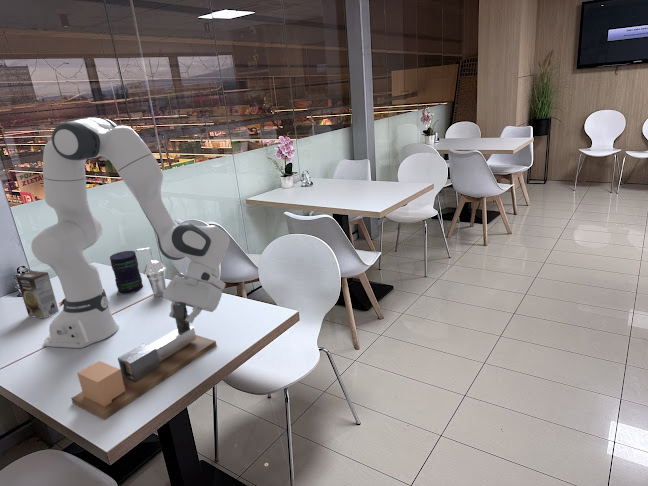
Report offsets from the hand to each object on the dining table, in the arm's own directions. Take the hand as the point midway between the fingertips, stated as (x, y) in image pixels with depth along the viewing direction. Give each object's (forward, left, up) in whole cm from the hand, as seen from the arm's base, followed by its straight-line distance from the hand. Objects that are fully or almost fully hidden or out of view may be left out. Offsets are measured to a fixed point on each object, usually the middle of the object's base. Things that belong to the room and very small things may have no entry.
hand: (180, 319), depth 135 cm
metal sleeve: (-8, -13, -8) cm, 17 cm away
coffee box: (-66, +31, -10) cm, 73 cm away
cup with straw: (-26, +43, -10) cm, 51 cm away
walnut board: (-6, -11, -10) cm, 16 cm away
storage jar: (-41, +50, -10) cm, 65 cm away
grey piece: (-4, -7, -7) cm, 11 cm away
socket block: (-13, -23, -8) cm, 28 cm away
